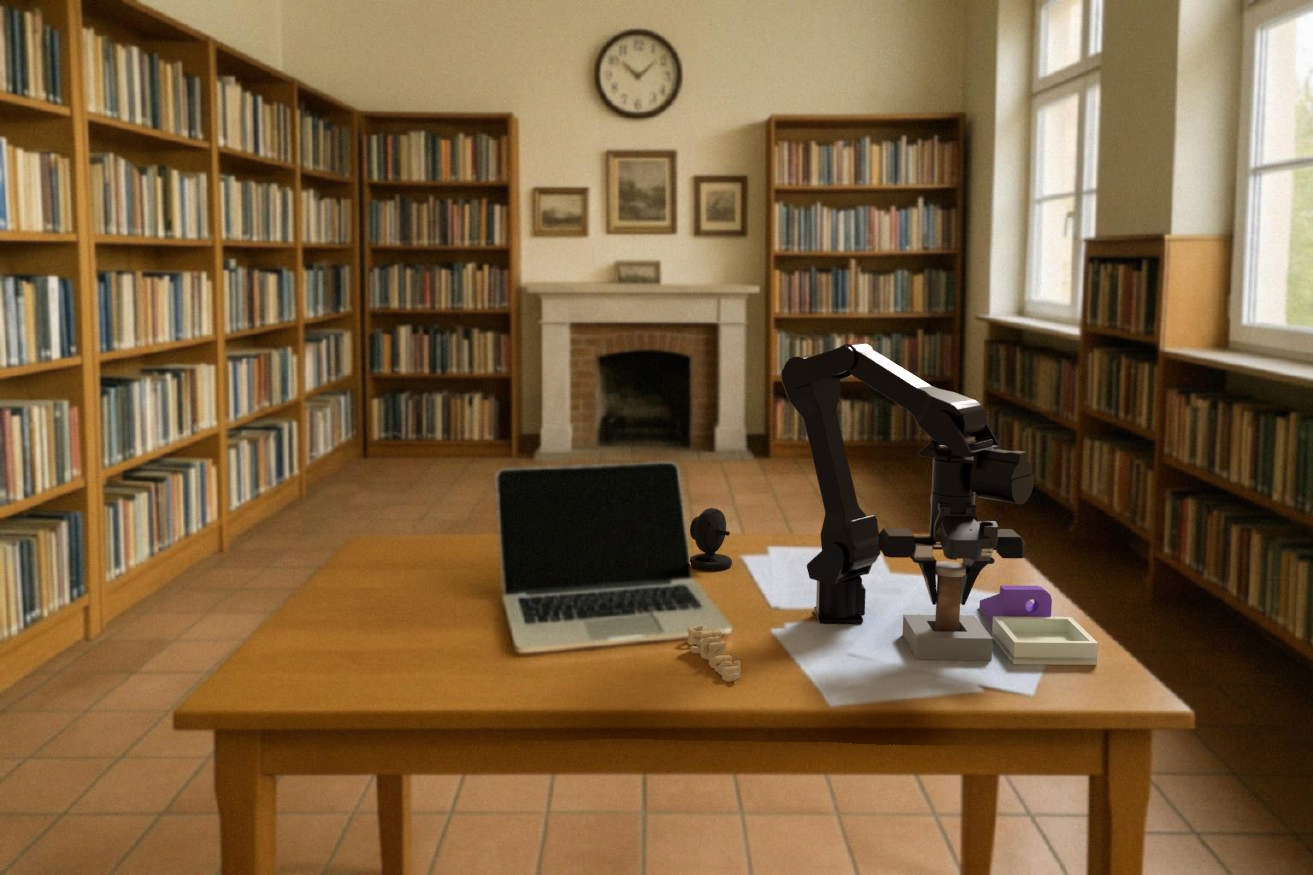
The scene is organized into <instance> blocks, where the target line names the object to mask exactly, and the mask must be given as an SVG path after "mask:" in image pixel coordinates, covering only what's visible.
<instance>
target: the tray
mask: <svg viewBox="0 0 1313 875" xmlns="http://www.w3.org/2000/svg"><path fill="white" fill-rule="evenodd" d="M991 624H992V628H991V629H992V630H991V637H992V638H993V641H994V642H995V643H996V644H997V646H998V647H999V648H1000V649H1001V651H1003V653H1004V654H1005V655H1006V657H1007V658H1008V659H1009V660H1010V662H1011V663H1012V664H1013V665H1061V666H1064V665H1066V666H1067V665H1069V666H1070V665H1077V666H1078V665H1079V666H1080V665H1081V666H1082V665H1083V666H1087V665H1088V666H1089V665H1090V666H1092V665H1093V666H1097V665H1098V651H1099V649H1098V648H1099V642H1098V641H1097V640H1095V638H1094V637H1092V636H1091V634H1090V633H1088V632H1087V630H1085V629H1084V628H1083V627H1082V626H1081V625H1080V624H1079V623H1078V622H1077V621H1076V620H1075V619H1074V618H1073V617H1072V616H1067V617H1066V616H1051V617H993V623H991Z"/></svg>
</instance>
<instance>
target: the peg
mask: <svg viewBox="0 0 1313 875" xmlns="http://www.w3.org/2000/svg"><path fill="white" fill-rule="evenodd" d="M962 563H963V562H962ZM962 563H961V562H957V561H951V560H950V561H947V560H944V561H942V560H941V561H937V562H936V568H935V573H936V575H937V576H936V590H937V599H936V605H935V615H936V619H935V632H959V620H960V615H961V603H960V599H961V578H962V576H965V575H966V569H967V566H966V565H964V564H962Z"/></svg>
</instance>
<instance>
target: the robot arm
mask: <svg viewBox="0 0 1313 875" xmlns="http://www.w3.org/2000/svg"><path fill="white" fill-rule="evenodd" d="M780 376H781V377H780V378H781V382H782V386H783V388H784V391H785V394H786V396H787V398H788V399H787V400H788V401H789V403H790V405H791V406H792V407H793V408H794V409H795V410H796V412H798V414H799V415H800V416H801V418H802V420H803V424H804V427H805V432H806V435H807V436H806V437H807V440H808V444H809V450H810V452H811V453H810V454H811V457H812V462H813V466H814V471H815V474H816V475H815V476H816V479H817V484H818V488H819V492H820V496H821V500H822V504H823V510H824V517H823V521H822V526H821V530H820V535H819V536H820V543H821V544H820V545H821V550H820V552H819V553H817V554H816V555H815V556H814V557H813V558H812V559H811V560H810V561H809V562H808V563H807V564H806V569H807V573H808V574H807V575H808V577H809V580H810V579H811V580H813V581H816V600H815V601H816V602H815V606H814V607H813V611H814V613H815V615H816V619H817V622H818V623H823V624H824V623H825V624H827V623H834V624H835V623H840V624H841V623H843V624H844V623H845V624H846V623H847V624H849V623H850V624H854V623H855V624H858V623H859V624H861V623H864V618H863V616H864V615H866V591H867V590H866V588H865V586H864V584H863V579H862V576H865V575H869V574H870V572H871V570H872V566H873V564H874V563H875V562H877V560H878V558H879V556H880V555H881V553H882V555H883V556H884V557H885V558H891V559H892V558H893V559H895V558H901V559H902V558H903V559H904V558H905V559H907V558H910V559H911V560H912V562H913V563H915V564H918V566H919V568H920V571H921V573H922V576H923V580H924V583H925V586H926V589H927V591H928V592H927V593H928V595H929V599H930V602H931V604H932V605H933V606H936V599H937V576H936V573H935V568H936V562H938V560H937V558H935V557H934V556H933V553H934V550H942V552H943V553H942V554H943V556H944V557H945V559H948V560H950V561H951V560H952V561H954V560H955V561H956V560H958V559H961V560H962V564H964V565H966V566H967V569H966V575H965V576H962V578H961V599H960V606H965V605H966V604H967V600H968V598H969V596H970V594H971V592H972V589H973V587H974V584H975V582H976V580H977V578H978V577H979V574H980V573H981V571H982V570H983V569H984V568H986V566H987V565H993V564H995V562H996V560H995V558H993V554H994V551H995V552H996V554H998V556H999V557H1001V558H1002V559H1012V560H1013V559H1015V560H1016V559H1018V560H1019V559H1021V560H1022V559H1024V558H1026V557H1025V556H1026V542H1025V539H1023V537H1022V536H1021V535H1020V534H1018V533H1017V532H1016V531H1015V530H1013V529H1012V528H999V526H998V523H997V521H995V520H991V521H990V520H981V521H979V520H978V517H977V504H976V503H975V502H976V495H977V497H979V498H981V499H985V500H991V501H998V502H1003V503H1004V502H1005V503H1008V504H1009V503H1011V504H1016V505H1024V504H1025V503H1026V502H1028V500H1029V498H1030V497H1031V495H1032V492H1033V488H1034V485H1035V475H1034V474H1033V469H1032V464H1031V463H1030V462H1028V461H1027V458H1028V452H1027V451H1022V450H1006V449H1002V446H1001V444H1000V442H999V439H997V437H996V435H995V433H994V431H993V430H992V428H991V426H990V425H989V423H988V421H987V419H986V418H987V417H986V415H985V414H986V413H985V408H984V407H983V405H982V404H981V403H980V402H979V401H977V400H976V399H973V398H970V397H968V396H965V395H962V394H960V393H957V392H954V391H951V390H946V389H942V388H938V387H936V386H932V385H931V384H929V383H927V382H926V381H924V380H922V379H921V378H920V377H918V376H916V375H914V374H913V373H911V372H910V371H908V370H907V369H905V368H904V367H902V366H900V365H898V364H896V363H895V362H894V361H892V360H890V359H889V358H887V357H886V356H884V355H882V354H881V353H879V352H877V351H876V350H874V349H873V347H872V346H871V345H869V344H867V343H865V342H854V343H844V344H843V345H840V346H839V347H836V348H833V349H831V350H828V351H825V352H821V353H817V354H809V355H800V356H799V355H798V356H792V357H791V358H789V359H788V360H787V361H786V362H785V364H784V366H783V368H782V369H781V372H780ZM852 376H853V377H854V378H856V379H858V380H859V381H861V382H863V383H864V384H866V385H867V386H868V387H870V388H872V389H873V390H875V391H876V392H878V393H880V394H881V395H883V396H884V397H886V398H887V399H889V400H890V401H891V402H894V403H895V404H896V405H898V406H900V407H902V409H904V410H906V411H907V412H908V413H910V414H911V415H912V416H913V418H914V419H915V422H916V423H917V425H918V427H919V428H920V429H921V430H922V431H923V432H924V433H925V434H926V435H927V436H929V437H930V438H931V440H929V442H928V444H927V445H926V446H924V447H923V448H922V449H920V450H919V451H918V455H919V456H920V457H925V458H931V459H932V475H931V478H932V479H931V494H930V500H929V502H930V518H929V519H930V522H929V527H928V532H929V535H914V534H913V533H912V530H910V529H909V528H908V527H907V528H903V527H899V528H898V527H893V528H892V527H891V528H889V527H886V528H885V527H884V528H882V530H879V525H878V524H879V522H878V517H877V516H876V514H872V515H867V514H865V512H864V511H863V510H862V508H861V507H860V505H859V502H858V499H857V498H858V497H857V494H856V491H855V486H854V482H853V478H852V474H851V470H850V464H849V461H848V456H847V452H846V448H845V442H844V438H843V434H842V431H841V425H840V423H839V417H838V414H837V413H838V412H837V409H838V404H839V400H840V397H841V391H842V388H841V387H842V386H841V381H842V380H843V379H846V378H850V377H852ZM970 441H972V442H970ZM879 531H880V532H879Z"/></svg>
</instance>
